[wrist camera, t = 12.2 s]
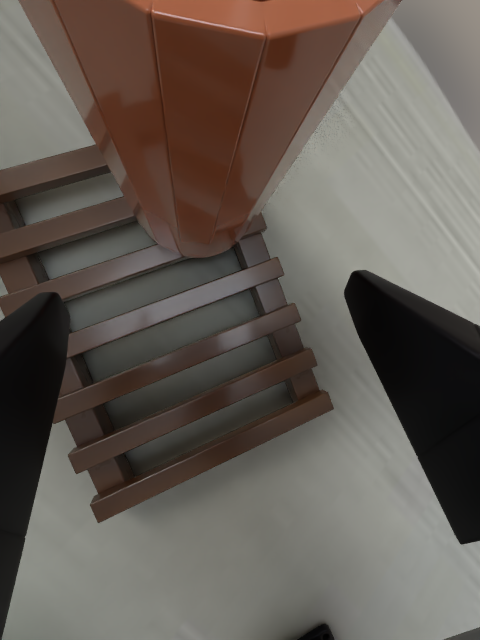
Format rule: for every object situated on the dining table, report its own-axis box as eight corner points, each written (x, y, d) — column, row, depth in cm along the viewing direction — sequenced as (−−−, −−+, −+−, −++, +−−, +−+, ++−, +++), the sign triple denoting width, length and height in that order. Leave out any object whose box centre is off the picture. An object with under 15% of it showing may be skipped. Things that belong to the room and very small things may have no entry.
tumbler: (270, 236, 17) (524, -20, 4) (160, 274, 16) (30, 89, 3) (229, 123, 16) (370, -573, 4) (112, 155, 15) (-293, -691, 2)
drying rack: (319, 403, 20) (336, 414, 18) (112, 502, 18) (100, 530, 15) (217, 130, 19) (221, 103, 16) (-24, 197, 16) (-60, 176, 14)
